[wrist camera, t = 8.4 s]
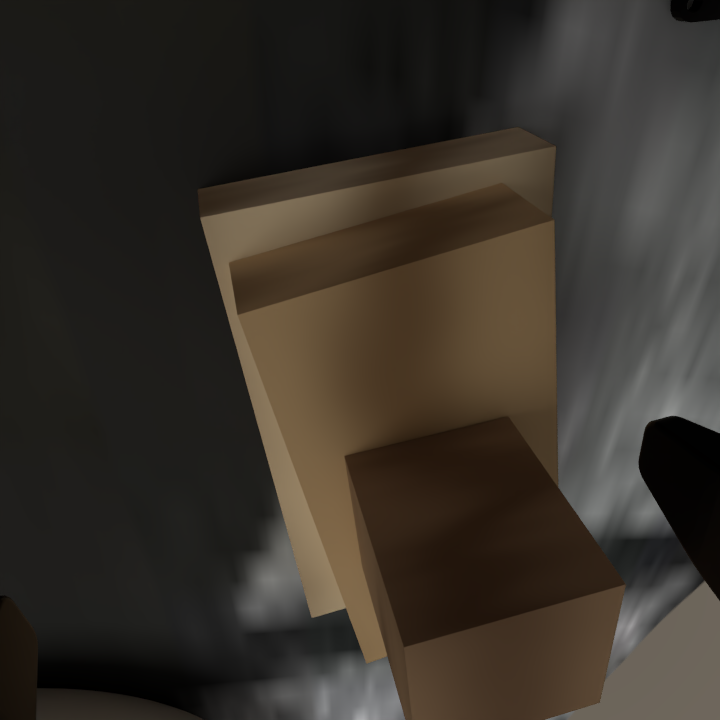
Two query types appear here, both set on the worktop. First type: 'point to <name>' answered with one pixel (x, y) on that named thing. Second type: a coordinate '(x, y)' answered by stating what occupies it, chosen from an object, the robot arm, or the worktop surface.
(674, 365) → the worktop surface
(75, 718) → the bowl
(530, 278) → the oak slab
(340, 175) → the beech slab
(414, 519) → the walnut block
